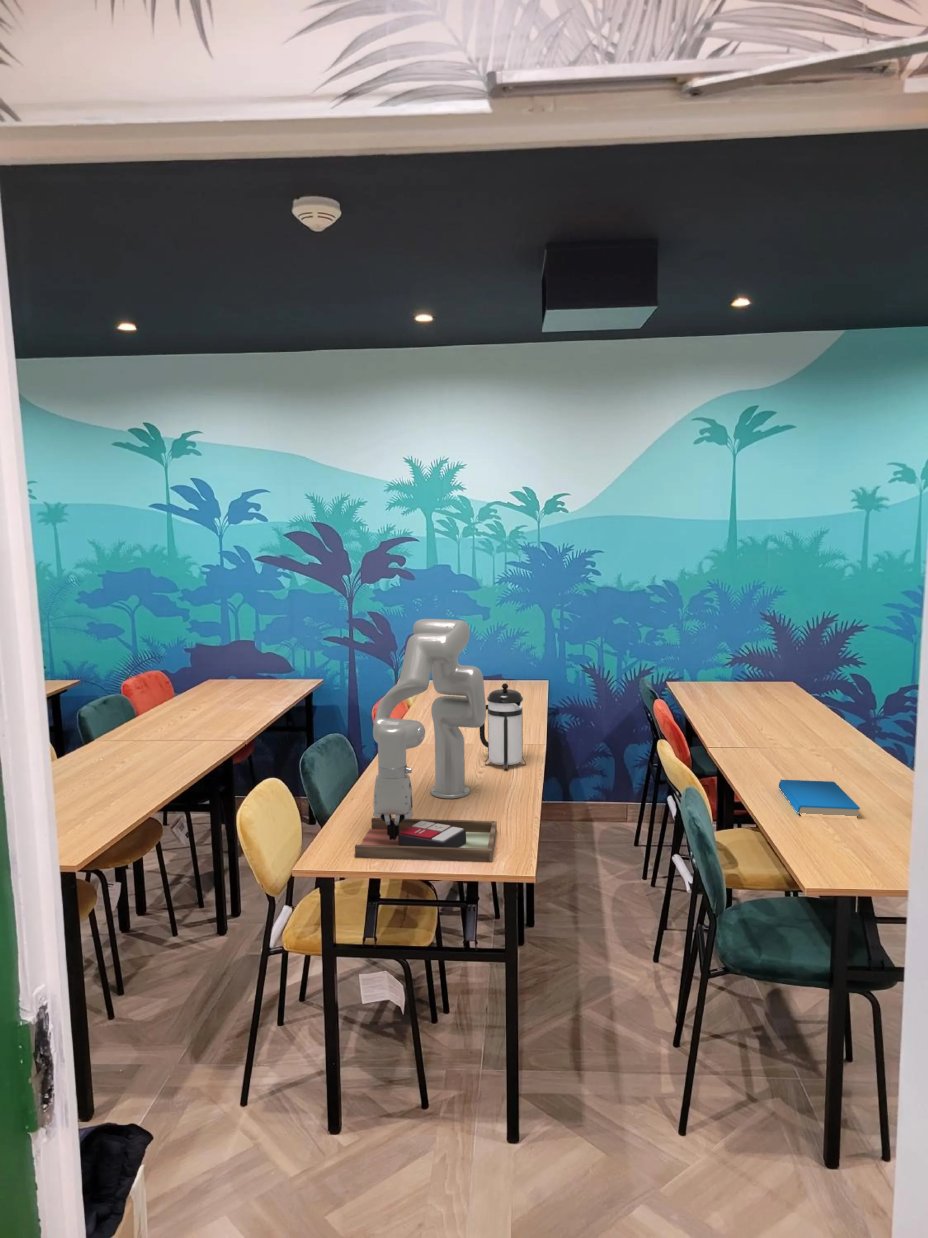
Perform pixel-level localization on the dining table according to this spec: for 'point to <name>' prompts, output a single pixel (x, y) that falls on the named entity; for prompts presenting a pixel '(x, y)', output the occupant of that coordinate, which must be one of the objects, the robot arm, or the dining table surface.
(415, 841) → the calculator
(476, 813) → the dining table surface
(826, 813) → the book
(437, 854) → the brown wooden tray
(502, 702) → the coffee press
